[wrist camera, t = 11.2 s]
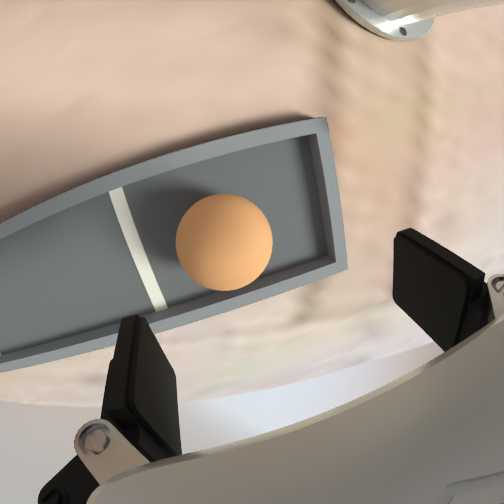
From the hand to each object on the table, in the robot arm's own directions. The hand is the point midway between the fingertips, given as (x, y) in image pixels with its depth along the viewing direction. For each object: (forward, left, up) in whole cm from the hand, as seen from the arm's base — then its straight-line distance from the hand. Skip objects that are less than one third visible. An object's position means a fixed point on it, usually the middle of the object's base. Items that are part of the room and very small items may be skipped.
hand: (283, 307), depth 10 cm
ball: (+1, -1, -9) cm, 10 cm away
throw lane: (+1, -9, -13) cm, 16 cm away
